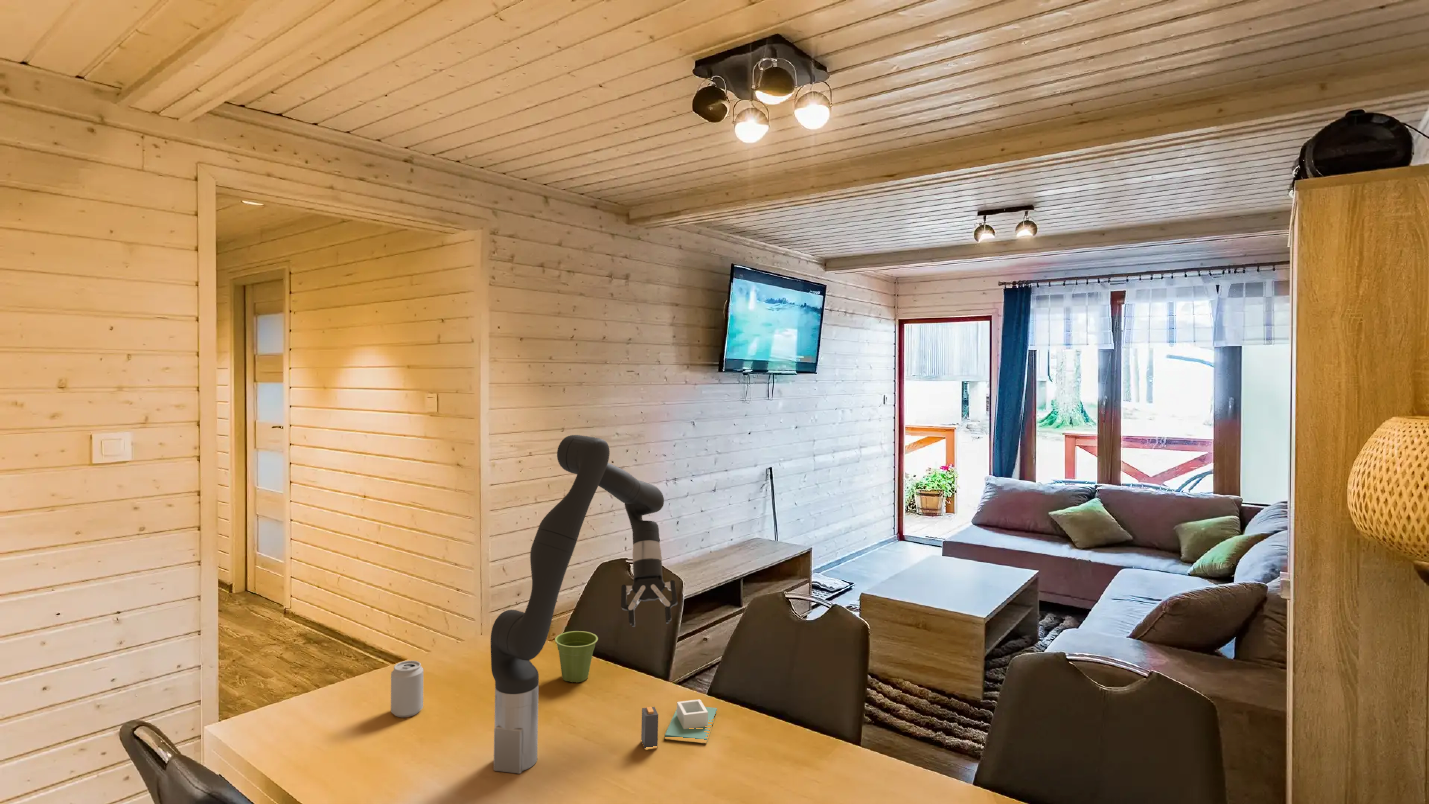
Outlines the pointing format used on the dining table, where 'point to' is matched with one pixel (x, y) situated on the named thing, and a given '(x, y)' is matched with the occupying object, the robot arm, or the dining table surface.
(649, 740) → the dark grey rectangular block
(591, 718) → the dining table surface
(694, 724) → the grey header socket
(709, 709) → the green board
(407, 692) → the can
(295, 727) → the dining table surface
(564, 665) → the plant pot
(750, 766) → the dining table surface
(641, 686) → the dining table surface
